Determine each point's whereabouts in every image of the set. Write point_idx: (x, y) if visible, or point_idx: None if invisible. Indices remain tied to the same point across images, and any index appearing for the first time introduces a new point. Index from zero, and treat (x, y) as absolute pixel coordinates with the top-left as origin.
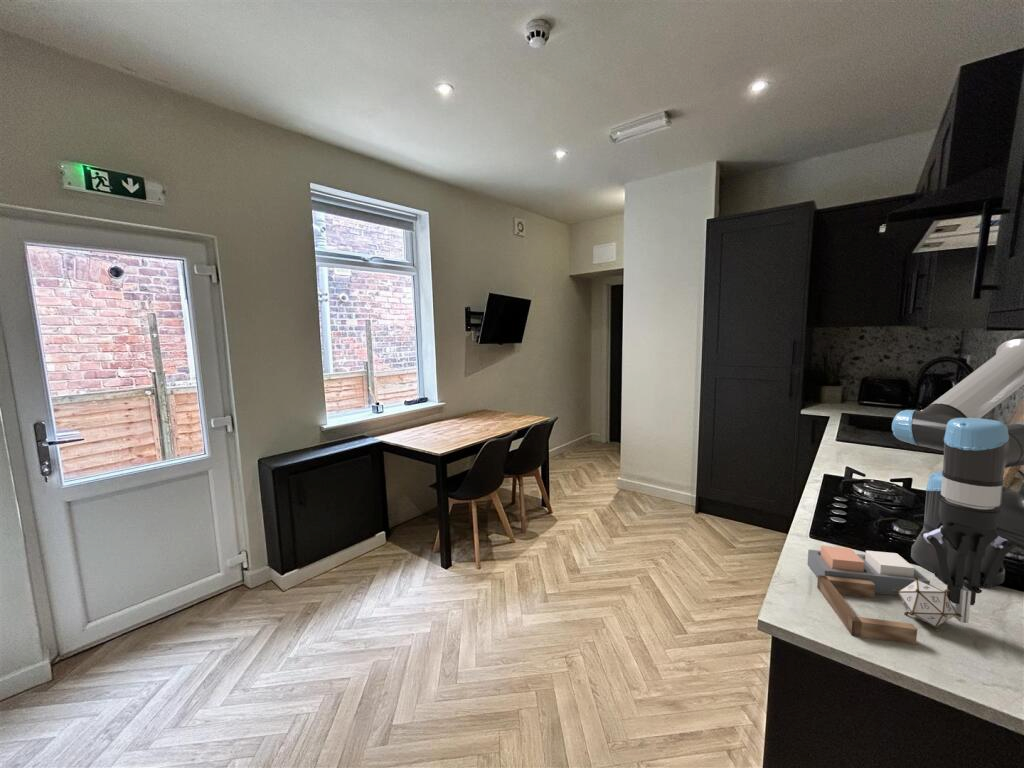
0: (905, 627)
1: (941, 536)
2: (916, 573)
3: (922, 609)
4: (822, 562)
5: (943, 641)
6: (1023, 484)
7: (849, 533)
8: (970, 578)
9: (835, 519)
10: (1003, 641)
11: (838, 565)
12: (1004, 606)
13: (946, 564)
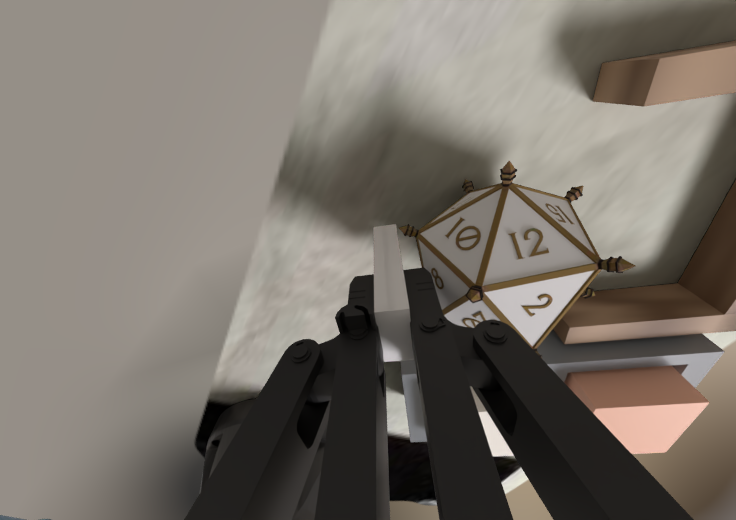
0: (713, 52)
1: None
2: (417, 397)
3: (557, 203)
4: None
5: (478, 129)
6: None
7: (431, 480)
8: (377, 382)
9: (431, 505)
10: (296, 200)
11: (665, 381)
12: (243, 346)
13: (588, 479)
